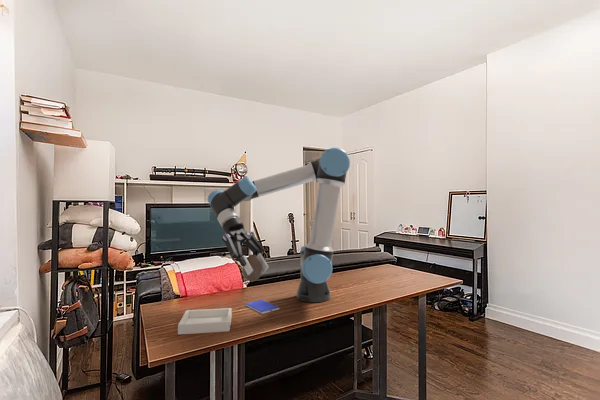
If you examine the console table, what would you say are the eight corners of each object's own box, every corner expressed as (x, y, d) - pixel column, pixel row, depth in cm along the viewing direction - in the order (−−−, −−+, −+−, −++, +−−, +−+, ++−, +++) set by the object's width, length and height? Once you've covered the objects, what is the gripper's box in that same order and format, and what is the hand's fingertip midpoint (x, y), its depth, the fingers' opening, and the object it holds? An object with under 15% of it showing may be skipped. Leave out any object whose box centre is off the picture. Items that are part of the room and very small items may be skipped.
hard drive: (245, 303, 126) (262, 311, 117) (262, 299, 131) (279, 306, 122) (245, 307, 126) (262, 315, 117) (262, 303, 131) (279, 310, 122)
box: (231, 316, 114) (231, 307, 114) (229, 331, 100) (229, 321, 100) (186, 318, 111) (186, 310, 111) (177, 334, 98) (177, 325, 98)
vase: (245, 282, 106) (245, 257, 106) (239, 278, 112) (240, 254, 112) (264, 280, 109) (264, 255, 109) (257, 276, 115) (258, 253, 116)
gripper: (246, 228, 128) (273, 273, 118) (204, 230, 114) (231, 282, 103) (254, 215, 125) (283, 260, 114) (213, 216, 110) (241, 268, 99)
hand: (258, 271), depth 108 cm, fingers closed on vase, 7 cm apart
